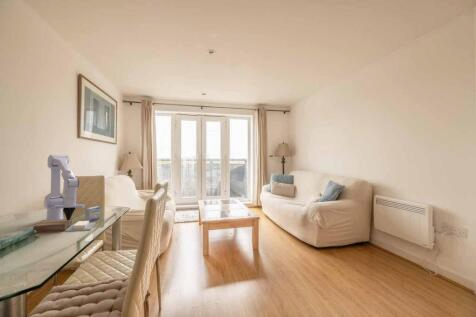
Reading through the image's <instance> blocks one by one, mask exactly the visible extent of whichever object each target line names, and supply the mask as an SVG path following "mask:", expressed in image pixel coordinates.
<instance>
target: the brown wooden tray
mask: <svg viewBox="0 0 476 317" xmlns="http://www.w3.org/2000/svg"><path fill="white" fill-rule="evenodd" d="M72 222H73V218H71V219H70V220H67V219H66V218H63V219H55V220H46V219H43V220H41V221H40V222H39V223H36V224H34V225H33V229H32V231H33V230H36V231H37V232H36V233H35V234H44V233H46V234H47V233H60V232H65V230H66V229H68V228H69V227H70V226H71V225H72V224H73V223H72Z"/></svg>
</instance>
